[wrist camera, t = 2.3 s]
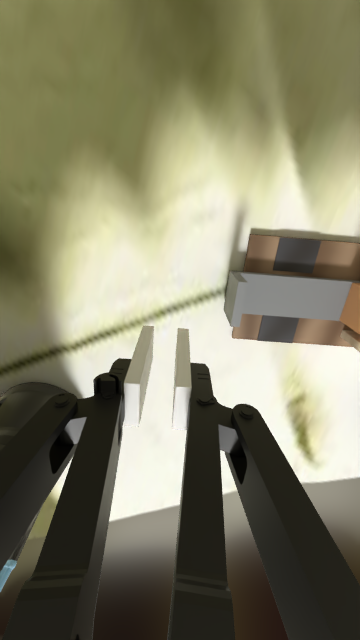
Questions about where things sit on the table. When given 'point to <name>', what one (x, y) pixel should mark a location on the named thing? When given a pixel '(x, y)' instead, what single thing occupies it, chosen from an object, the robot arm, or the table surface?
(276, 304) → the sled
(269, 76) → the table surface
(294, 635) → the robot arm
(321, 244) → the tunnel board
